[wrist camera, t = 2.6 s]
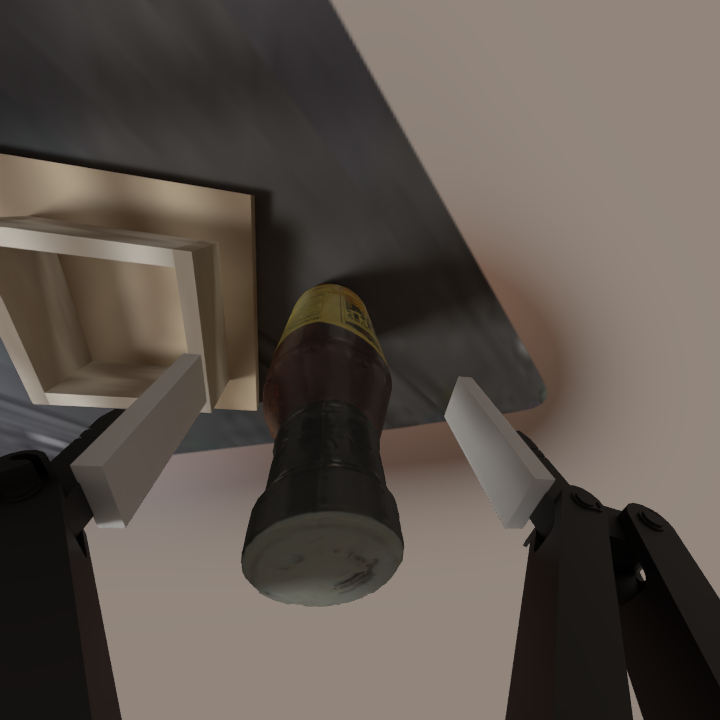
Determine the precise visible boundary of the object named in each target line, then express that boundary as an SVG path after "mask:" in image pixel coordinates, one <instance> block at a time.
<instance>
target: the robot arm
mask: <svg viewBox="0 0 720 720" xmlns="http://www.w3.org/2000/svg"><path fill="white" fill-rule="evenodd" d="M206 402H207V399H206V391H205V383H204V375H203V367H202V359H201V355H199V354H187V353H183V354H182V355H181V356H180V357H179V358H178V359H177V360H176V361H175V362H174V363H173V364H172V365H171V366H170V367H169V368H168V369H167V370H166V371H165V372H164V373H163V374H162V375H161V376H160V377H159V378H158V379H157V380H156V381H155V382H154V383H153V384H152V385H151V386H150V387H149V388H148V389H147V390H146V391H145V392H144V393H143V394H142V395H141V396H140V397H139V398H138V399H137V400H136V401H135V402H134V403H133V404H132V405H131V406H130V407H129V408H127V409H114V410H113V411H111V412H109V413H107V414H105V415H103V416H101V417H100V418H98V419H97V420H96V421H95V422H94V423H93V424H92V425H91V426H90V427H88V430H85V431H84V432H83V433H82V434H81V435H80V436H79V437H78V439H75V440H74V441H73V442H72V443H71V444H70V445H69V446H67V447H66V448H65V449H64V450H63V451H62V452H61V453H60V454H59V455H58V456H56V457H55V458H54V459H53V460H52V461H51V462H50V461H49V459H48V457H47V455H46V454H45V453H44V452H41V451H38V450H24V451H19V452H15V453H10V454H8V455H5V456H2V457H0V720H122V718H121V714H120V708H119V703H118V698H117V693H116V687H115V682H114V677H113V672H112V666H111V661H110V656H109V651H108V646H107V640H106V635H105V630H104V625H103V620H102V614H101V609H100V604H99V599H98V593H97V588H96V584H95V578H94V573H93V567H92V562H91V557H90V552H89V547H88V541H87V536H86V533H85V531H84V527H85V526H86V525H87V523H88V522H89V521H90V520H91V518H92V517H94V519H95V522H96V524H97V526H98V528H126V526H127V525H128V523H129V522H130V520H131V519H132V517H133V516H134V514H135V512H136V511H137V509H138V508H139V506H140V505H141V503H142V502H143V500H144V498H145V497H146V495H147V494H148V492H149V491H150V489H151V488H152V486H153V484H154V483H155V481H156V480H157V478H158V477H159V475H160V474H161V472H162V470H163V469H164V467H165V466H166V464H167V463H168V461H169V459H170V458H171V457H172V455H173V453H174V452H175V450H176V449H177V447H178V446H179V444H180V443H181V441H182V439H183V438H184V436H185V435H186V433H187V432H188V430H189V429H190V427H191V425H192V424H193V422H194V421H195V419H196V418H197V416H198V415H199V413H200V411H201V410H202V408H203V407H204V405H205V404H206ZM444 417H445V419H446V421H447V422H448V424H449V426H450V428H451V430H452V432H453V433H454V435H455V437H456V439H457V441H458V443H459V445H460V446H461V448H462V450H463V452H464V454H465V456H466V458H467V459H468V461H469V463H470V465H471V467H472V469H473V471H474V472H475V474H476V476H477V478H478V480H479V482H480V483H481V485H482V487H483V489H484V491H485V493H486V494H487V496H488V498H489V500H490V502H491V504H492V506H493V508H494V510H495V511H496V513H497V515H498V517H499V519H500V521H501V522H502V524H503V526H504V528H523V527H524V526H525V524H526V523H527V521H528V520H529V518H530V520H531V521H532V523H533V524H534V526H535V528H534V530H533V531H532V533H531V534H530V535H529V537H528V538H527V539H526V541H525V543H524V545H523V546H525V547H527V546H528V544H529V543H530V547H529V555H528V562H527V569H526V576H525V583H524V591H523V597H522V604H521V612H520V619H519V626H518V633H517V640H516V647H515V654H514V662H513V669H512V676H511V683H510V690H509V697H508V704H507V712H506V719H505V720H633V715H632V708H631V700H630V692H629V685H628V677H627V671H628V674H629V677H630V680H631V683H632V686H633V689H634V692H635V695H636V698H637V701H638V704H639V707H640V710H641V713H642V716H643V719H644V720H720V599H719V597H718V596H717V594H716V593H715V591H714V590H713V588H712V586H711V585H710V584H709V582H708V580H707V579H706V577H705V576H704V574H703V573H702V571H701V570H700V568H699V567H698V565H697V563H696V562H695V560H694V559H693V557H692V556H691V554H690V553H689V551H688V550H687V548H686V547H685V545H684V544H683V542H682V540H681V539H680V537H679V536H678V535H677V533H676V531H675V530H674V528H673V527H672V526H671V525H670V524H669V522H667V521H666V520H665V519H664V518H663V517H662V516H661V515H659V514H658V513H656V512H654V511H653V510H651V509H649V508H647V507H645V506H643V505H640V504H636V503H631V504H628V505H627V506H626V507H625V508H624V509H623V510H622V511H619V510H616V509H612V508H609V507H606V506H603V505H602V504H601V503H600V501H599V500H598V499H597V498H596V497H594V496H593V495H592V494H591V493H589V492H587V491H586V490H584V489H582V488H580V487H577V486H573V485H569V484H568V483H567V481H566V480H565V479H564V478H563V477H562V475H561V474H560V473H559V472H558V471H557V470H556V468H555V467H554V466H553V465H552V464H551V463H550V461H549V460H548V459H547V458H545V456H544V454H543V453H542V452H541V451H540V450H538V447H537V446H536V445H535V444H534V443H533V442H532V441H531V439H529V438H528V437H527V436H525V435H524V434H523V433H522V432H520V431H515V430H514V429H513V427H512V426H511V425H510V424H509V423H508V421H507V420H506V419H505V418H504V416H503V415H502V414H501V413H500V412H499V410H498V409H497V408H496V407H495V405H494V404H493V403H492V402H491V401H490V399H489V398H488V397H487V396H486V394H485V393H484V392H483V391H482V390H481V388H480V387H479V386H478V385H477V384H476V382H475V381H474V380H473V379H472V378H471V377H458V379H457V382H456V385H455V388H454V391H453V393H452V396H451V399H450V402H449V404H448V407H447V410H446V413H445V416H444ZM642 569H643V570H644V573H645V576H646V580H645V581H644V580H643V578H642V576H641V574H640V571H641V570H642ZM626 668H627V669H626Z"/></svg>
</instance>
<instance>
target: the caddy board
mask: <svg viewBox="0 0 720 720" xmlns="http://www.w3.org/2000/svg"><path fill="white" fill-rule="evenodd" d="M0 337H1V339H2V341H3V343H4V345H5V347H6V349H7V351H8V353H9V355H10V357H11V360H12V362H13V364H14V366H15V368H16V370H17V372H18V374H19V376H20V378H21V380H22V382H23V384H24V386H25V388H26V391H27V393H28V395H29V397H30V399H31V401H32V403H33V404H45V405H65V406H85V407H105V408H125V409H127V408H129V407H130V406H131V405H132V404H133V403H134V402H135V401H136V400H137V399H138V398H139V397H140V396H141V395H142V394H143V393H144V392H145V391H146V390H147V389H148V388H149V387H150V386H151V385H152V384H153V383H154V382H155V381H156V380H157V379H158V378H159V377H160V376H161V375H162V374H163V373H164V372H165V371H166V370H167V369H168V368H169V367H170V366H171V365H172V364H173V363H174V362H175V361H176V360H177V359H178V358H179V357H180V356H181V355H182V354H183V353H187V354H199V355H201V359H202V367H203V375H204V383H205V391H206V399H207V402H206V404H205V405H204V407H203V408H202V410H201V411H200V412H206V413H212V411H213V409H214V408H216V409H235V410H254V411H257V408H258V405H259V365H258V321H257V276H256V232H255V195H249V194H243V193H237V192H231V191H225V190H219V189H213V188H207V187H200V186H194V185H188V184H182V183H176V182H170V181H164V180H158V179H152V178H146V177H140V176H134V175H128V174H122V173H116V172H110V171H104V170H98V169H92V168H86V167H80V166H74V165H68V164H62V163H56V162H50V161H44V160H37V159H31V158H25V157H19V156H13V155H7V154H1V153H0Z"/></svg>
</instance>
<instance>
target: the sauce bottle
mask: <svg viewBox="0 0 720 720" xmlns="http://www.w3.org/2000/svg"><path fill="white" fill-rule="evenodd" d="M391 390H392V379H391V375H390V372H389V369H388V366H387V363H386V360H385V358H384V355H383V352H382V350H381V347H380V344H379V342H378V339H377V336H376V333H375V331H374V328H373V325H372V323H371V320H370V317H369V315H368V312H367V309H366V307H365V305H364V303H363V302H362V300H361V299H360V298H359V296H357V295H356V294H355V293H354V292H353V291H352V290H351V289H349V288H346V287H344V286H340V285H338V284H328V283H324V284H319V285H317V286H315V287H313V288H311V289H309V290H308V291H306V292H305V293H304V294H303V295H302V296H301V297H300V298H299V300H298V301H297V303H296V304H295V307H294V309H293V311H292V313H291V316H290V318H289V320H288V323H287V325H286V327H285V330H284V332H283V334H282V337H281V339H280V341H279V344H278V346H277V348H276V350H275V352H274V355H273V358H272V362H271V367H270V369H269V371H268V373H267V376H266V380H265V383H264V387H263V397H262V401H263V411H264V415H265V421H266V423H267V424H268V427H269V429H270V432H271V437H272V438H273V439H274V440H275V442H274V448H273V455H274V458H273V461H272V464H271V469H270V473H269V477H268V482H267V486H266V490H265V491H264V493H263V494H262V495H261V496H260V497H259V498H258V500H257V502H256V504H255V505H254V507H253V509H252V512H251V516H250V520H249V524H248V528H247V532H246V537H245V542H244V547H243V551H242V559H241V563H242V571H243V574H244V576H245V578H246V579H247V580H248V581H249V582H250V583H251V584H252V585H253V586H254V587H255V588H256V589H257V590H258V591H259V593H260V594H262V595H264V596H266V597H268V598H270V599H272V600H275V601H279V602H282V603H286V604H299V605H304V606H310V607H311V606H318V607H321V606H331V605H339V604H341V603H347V602H351V601H354V600H357V599H360V598H362V597H364V596H366V595H368V594H370V593H373V592H375V591H376V590H378V589H379V588H380V587H381V586H382V585H384V584H386V583H387V581H388V580H389V579H390V578H391V577H392V576H393V575H394V573H395V572H396V570H397V568H398V567H399V565H400V563H401V562H402V560H403V551H404V541H403V536H402V532H401V526H400V521H399V513H398V509H397V504H396V501H395V499H394V497H393V495H392V493H391V492H390V491H389V490H388V488H387V486H386V482H385V475H384V471H383V466H382V462H381V457H380V453H379V450H380V437H381V433H382V429H383V425H384V420H385V416H386V412H387V408H388V403H389V399H390V395H391Z"/></svg>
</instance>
